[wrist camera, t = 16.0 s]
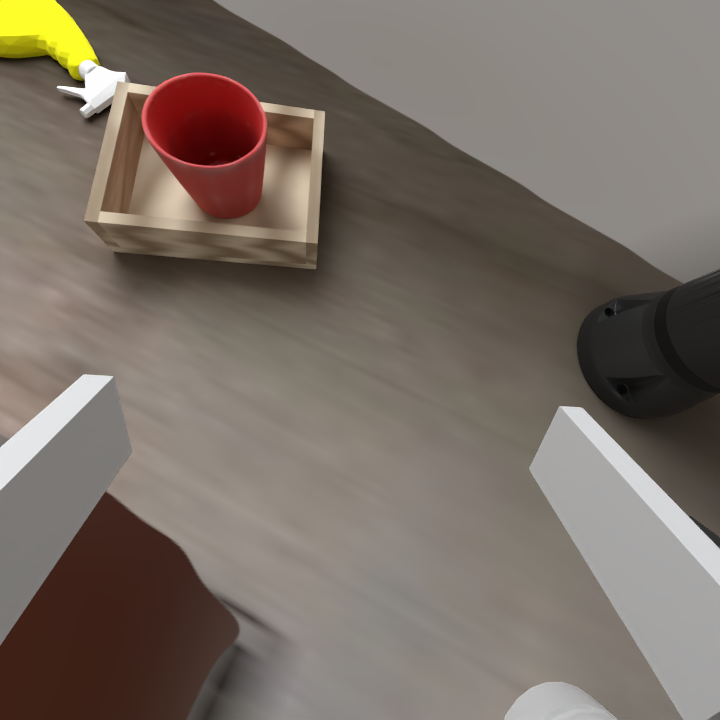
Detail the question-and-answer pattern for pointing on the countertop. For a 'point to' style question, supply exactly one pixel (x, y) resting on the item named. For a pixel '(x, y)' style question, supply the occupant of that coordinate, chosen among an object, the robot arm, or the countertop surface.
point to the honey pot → (557, 704)
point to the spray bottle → (57, 48)
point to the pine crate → (181, 213)
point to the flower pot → (210, 140)
